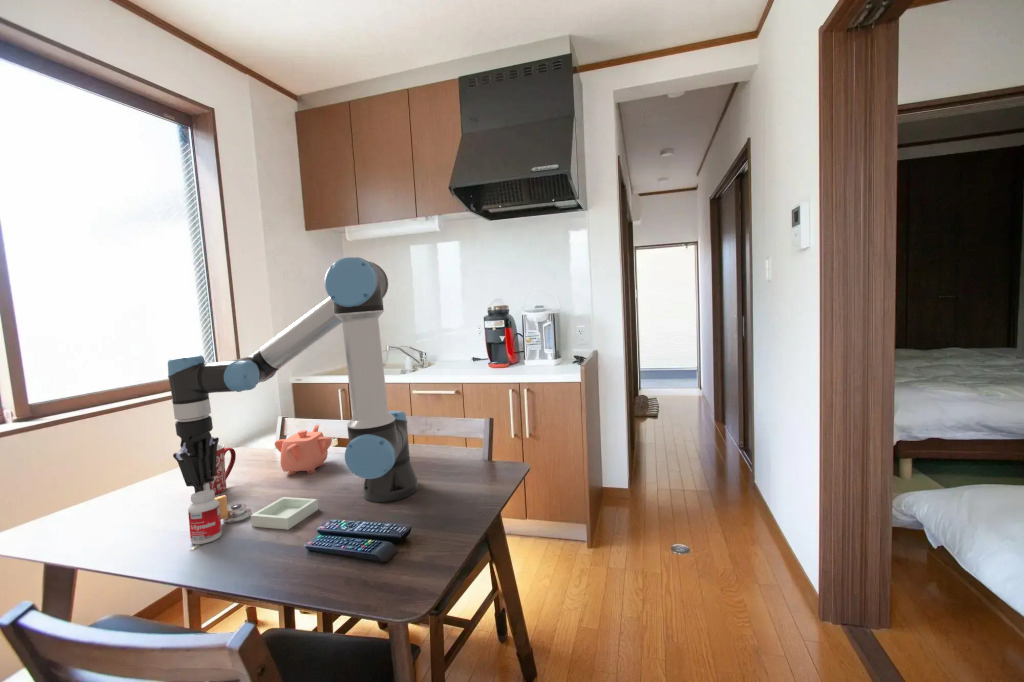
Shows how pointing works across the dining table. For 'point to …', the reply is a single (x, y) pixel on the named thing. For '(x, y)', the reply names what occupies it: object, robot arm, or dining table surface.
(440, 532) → the dining table surface
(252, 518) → the tray
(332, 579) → the dining table surface
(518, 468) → the dining table surface
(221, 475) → the mug
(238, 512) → the tan and grey pieces
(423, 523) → the dining table surface
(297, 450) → the pink toy figure
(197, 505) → the pill bottle
